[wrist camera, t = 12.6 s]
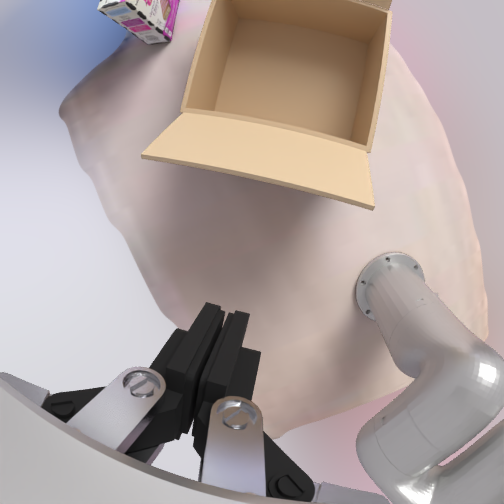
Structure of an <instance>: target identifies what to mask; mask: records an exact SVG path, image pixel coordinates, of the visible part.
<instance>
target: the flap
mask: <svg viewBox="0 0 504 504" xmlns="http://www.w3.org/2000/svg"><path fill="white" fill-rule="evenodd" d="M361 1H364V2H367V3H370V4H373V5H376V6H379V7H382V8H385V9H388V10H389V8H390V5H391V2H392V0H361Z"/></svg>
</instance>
